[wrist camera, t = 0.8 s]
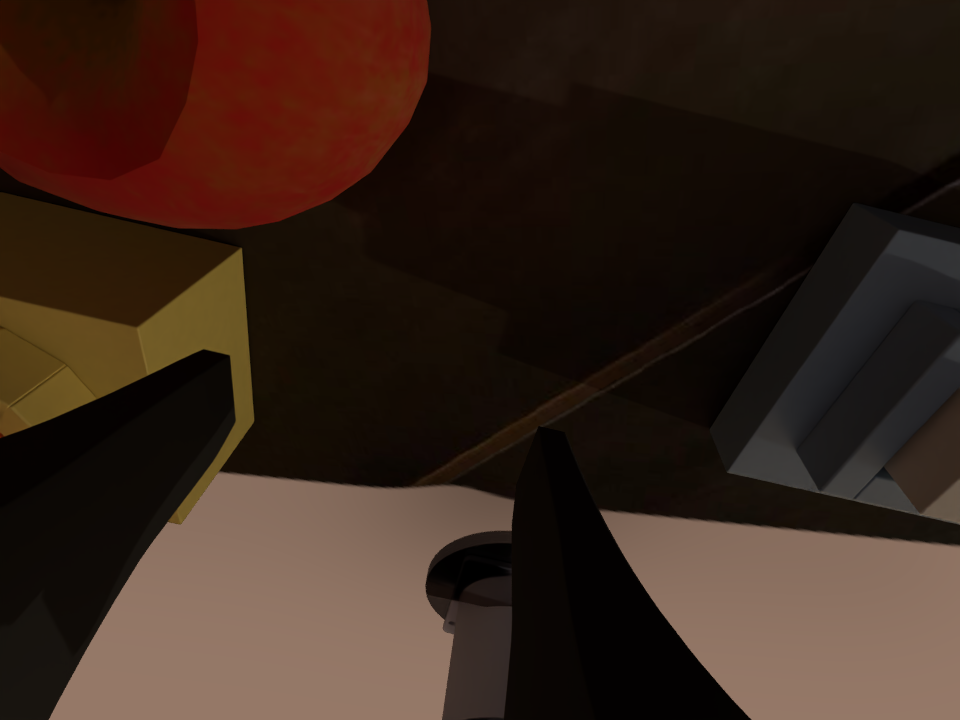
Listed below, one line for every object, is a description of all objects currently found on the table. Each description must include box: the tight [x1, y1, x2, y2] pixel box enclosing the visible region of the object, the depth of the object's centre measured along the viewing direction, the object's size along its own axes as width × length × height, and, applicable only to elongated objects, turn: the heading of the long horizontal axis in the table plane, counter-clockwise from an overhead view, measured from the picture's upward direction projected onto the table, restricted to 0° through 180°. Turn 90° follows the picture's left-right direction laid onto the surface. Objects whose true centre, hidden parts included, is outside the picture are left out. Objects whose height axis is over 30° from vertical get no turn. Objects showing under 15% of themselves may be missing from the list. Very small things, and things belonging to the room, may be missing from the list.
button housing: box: [0, 192, 254, 524], centre depth 18 cm, size 9×10×8 cm
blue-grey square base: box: [710, 203, 960, 524], centre depth 17 cm, size 10×10×4 cm
